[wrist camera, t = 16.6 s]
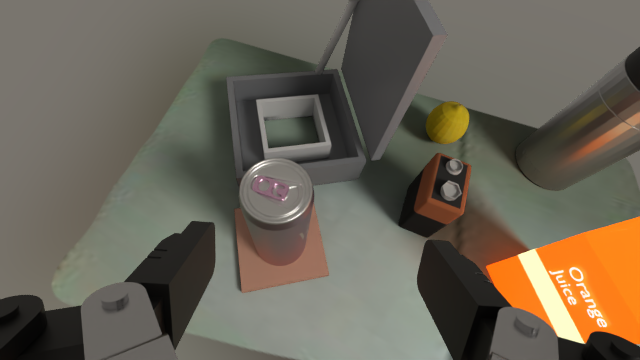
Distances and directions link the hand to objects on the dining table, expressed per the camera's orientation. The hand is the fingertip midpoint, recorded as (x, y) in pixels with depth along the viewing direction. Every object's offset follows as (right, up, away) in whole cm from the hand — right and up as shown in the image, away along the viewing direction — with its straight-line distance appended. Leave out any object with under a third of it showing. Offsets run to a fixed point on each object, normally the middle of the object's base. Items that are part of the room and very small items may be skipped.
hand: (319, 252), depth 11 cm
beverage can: (-5, -5, +25) cm, 26 cm away
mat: (-5, -5, +26) cm, 27 cm away
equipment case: (-4, +9, +33) cm, 34 cm away
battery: (+13, -2, +30) cm, 33 cm away
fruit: (+18, +9, +36) cm, 41 cm away
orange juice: (+26, -12, +26) cm, 39 cm away
